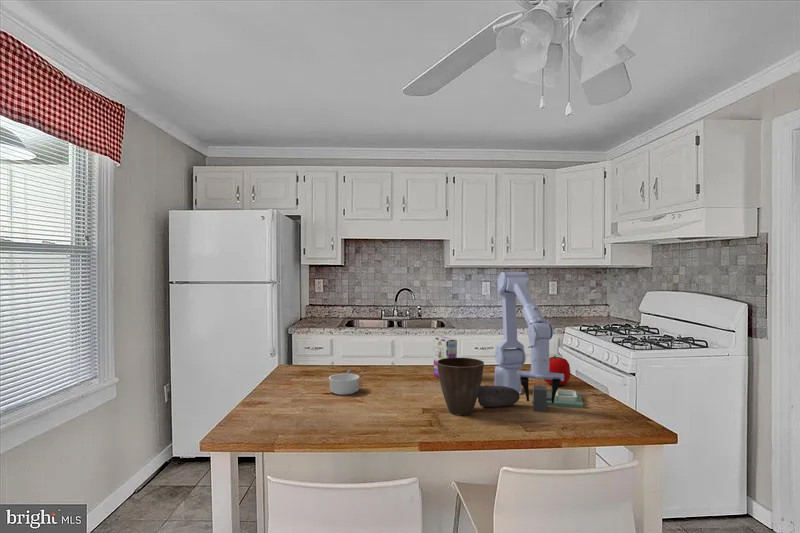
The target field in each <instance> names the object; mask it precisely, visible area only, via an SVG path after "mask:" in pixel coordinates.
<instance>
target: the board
mask: <svg viewBox="0 0 800 533" xmlns="http://www.w3.org/2000/svg"><path fill="white" fill-rule="evenodd" d="M551 398H552V390H551V391H550V390H547V406H549V407H550V406H551V407H552V406H553V407H562V408H563V407H567V408H577V409H578V408H579V409H583V408H584V403H583V399H582V395H581V393H579V392H576V390H575V389H573V390H572V389H559V388H558V390H557V392H556V395H555V399H554V403H552V400H551ZM531 401H532V405H534V389H533V390H532V400H531Z"/></svg>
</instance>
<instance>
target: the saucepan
mask: <svg viewBox="0 0 800 533" xmlns="http://www.w3.org/2000/svg"><path fill="white" fill-rule="evenodd" d="M352 369H353V368H351V367H350V368H348V369H347V371H346V373H337V374H331V375H330V376H328V379H329V391H330V392H331V393H332V394H335V395H338V396H346V395H348V394H349V395H352V394H355V393H356V392H358V391H359V390H360V377H361V376H360V375H359V374H355V373H351V372H352ZM349 395H348V396H349Z"/></svg>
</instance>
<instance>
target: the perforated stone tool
mask: <svg viewBox="0 0 800 533" xmlns="http://www.w3.org/2000/svg"><path fill="white" fill-rule="evenodd" d="M520 396H521V395H520V394H519V392H518V391H516V390H515V389H513V388H510V387H505V386H494V385H486V384H485V385H480V389H479V393H478V397H477V401H478V404H479V406H480V407H485V408H499V407H508V406H513V405H515V404H517V403H518V402H519V400H520Z"/></svg>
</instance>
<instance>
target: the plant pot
mask: <svg viewBox="0 0 800 533" xmlns="http://www.w3.org/2000/svg"><path fill="white" fill-rule="evenodd" d="M484 364H485V363H484V361H483V360H481V359H478V358H473V357H472V358H470V357H457V358H445V359H440V360H438V361H437V367H438V374H439V382H440V389H441V391H442V395H443V398H444V401H445V403H446V407H447V409H448V412H449V413H450V414H452V415H457V416H468V415H471V414H472V413H473V411H474V409H475V406H476V403H477V401H478V393H479V389H480V386H482V384H481V383H482V379H483V374H484V373H483V372H484V367H485V366H484Z"/></svg>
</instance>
